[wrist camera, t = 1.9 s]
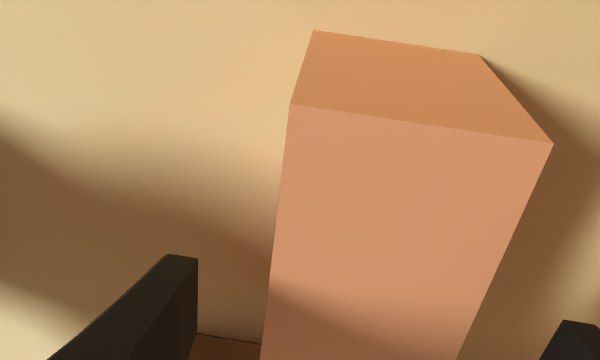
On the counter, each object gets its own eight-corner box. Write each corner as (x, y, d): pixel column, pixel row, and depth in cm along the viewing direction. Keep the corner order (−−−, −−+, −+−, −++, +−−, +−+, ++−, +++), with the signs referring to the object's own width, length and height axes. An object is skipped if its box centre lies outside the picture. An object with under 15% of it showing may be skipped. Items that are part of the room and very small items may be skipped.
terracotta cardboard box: (277, 294, 16) (250, 437, 12) (313, 28, 11) (289, 103, 7) (393, 312, 16) (408, 463, 12) (476, 52, 11) (553, 143, 7)
